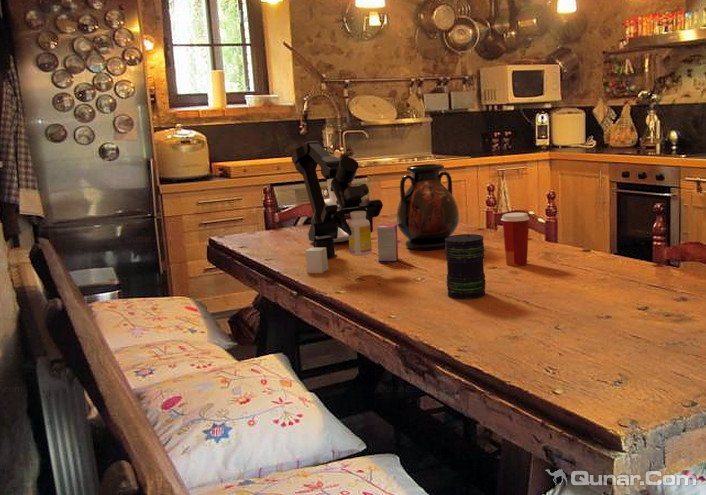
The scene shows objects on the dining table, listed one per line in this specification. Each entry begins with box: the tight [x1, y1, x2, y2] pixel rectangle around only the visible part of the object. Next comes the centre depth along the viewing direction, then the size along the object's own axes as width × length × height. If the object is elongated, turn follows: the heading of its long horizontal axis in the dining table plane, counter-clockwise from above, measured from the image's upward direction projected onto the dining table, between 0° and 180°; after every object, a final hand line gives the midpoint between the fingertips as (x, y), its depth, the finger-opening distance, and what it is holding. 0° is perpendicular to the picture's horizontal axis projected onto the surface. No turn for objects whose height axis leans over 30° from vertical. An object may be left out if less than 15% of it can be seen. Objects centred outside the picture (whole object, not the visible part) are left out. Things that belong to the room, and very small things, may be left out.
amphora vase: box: [396, 163, 460, 251], centre depth 262 cm, size 22×22×28 cm
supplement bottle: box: [347, 211, 373, 257], centre depth 228 cm, size 7×7×13 cm
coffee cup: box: [500, 212, 530, 267], centre depth 226 cm, size 8×8×15 cm
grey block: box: [304, 247, 329, 274], centre depth 236 cm, size 5×5×7 cm
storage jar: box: [444, 233, 486, 301], centre depth 194 cm, size 10×10×15 cm
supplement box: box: [376, 224, 399, 264], centre depth 244 cm, size 6×6×12 cm
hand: (361, 233), depth 226 cm, fingers closed on supplement bottle, 7 cm apart
